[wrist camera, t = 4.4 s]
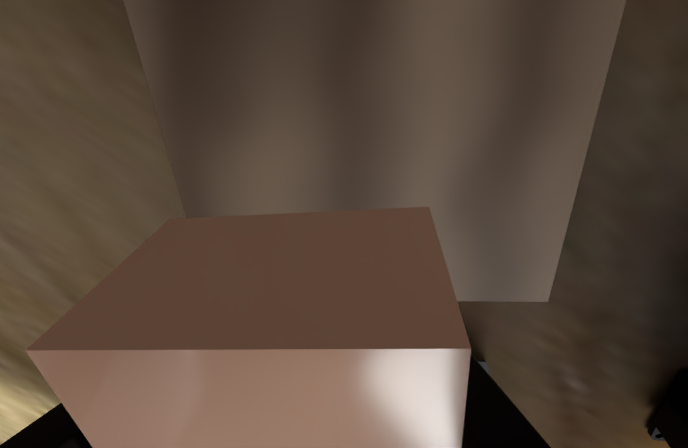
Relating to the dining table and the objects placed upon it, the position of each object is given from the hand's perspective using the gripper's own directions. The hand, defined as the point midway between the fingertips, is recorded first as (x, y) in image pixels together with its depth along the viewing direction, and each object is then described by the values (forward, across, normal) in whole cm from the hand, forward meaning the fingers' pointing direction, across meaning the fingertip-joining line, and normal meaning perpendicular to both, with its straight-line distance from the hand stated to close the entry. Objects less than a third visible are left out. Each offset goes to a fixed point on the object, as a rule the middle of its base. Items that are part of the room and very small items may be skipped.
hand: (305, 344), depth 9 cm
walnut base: (+11, -1, -3) cm, 12 cm away
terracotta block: (+1, 0, 0) cm, 1 cm away
